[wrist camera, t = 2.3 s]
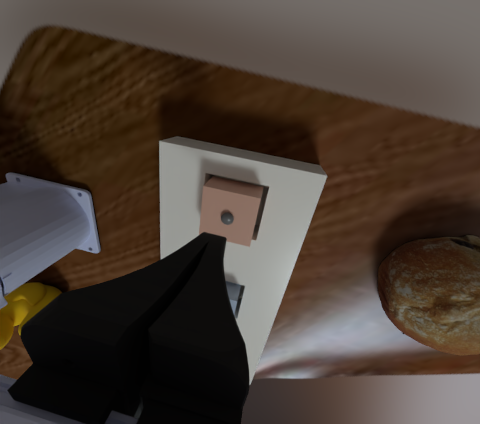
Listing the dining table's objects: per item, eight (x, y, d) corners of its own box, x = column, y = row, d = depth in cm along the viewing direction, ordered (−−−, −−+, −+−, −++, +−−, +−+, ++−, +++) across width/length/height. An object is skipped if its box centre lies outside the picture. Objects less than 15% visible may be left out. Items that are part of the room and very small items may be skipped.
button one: (208, 219, 18) (197, 235, 16) (213, 176, 16) (202, 186, 14) (253, 230, 18) (249, 248, 16) (263, 186, 16) (260, 199, 14)
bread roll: (477, 233, 21) (603, 247, 13) (469, 337, 21) (588, 414, 13) (368, 225, 22) (421, 233, 14) (361, 322, 22) (409, 383, 14)
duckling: (24, 298, 33) (-70, 368, 24) (6, 271, 31) (-105, 337, 22) (87, 306, 31) (10, 385, 22) (73, 278, 29) (-19, 354, 20)
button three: (199, 299, 23) (190, 320, 21) (202, 271, 21) (193, 291, 19) (235, 308, 23) (230, 331, 20) (241, 281, 21) (236, 303, 18)
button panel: (172, 337, 31) (161, 358, 28) (177, 136, 18) (159, 141, 15) (253, 360, 30) (250, 384, 27) (319, 165, 17) (327, 175, 14)
